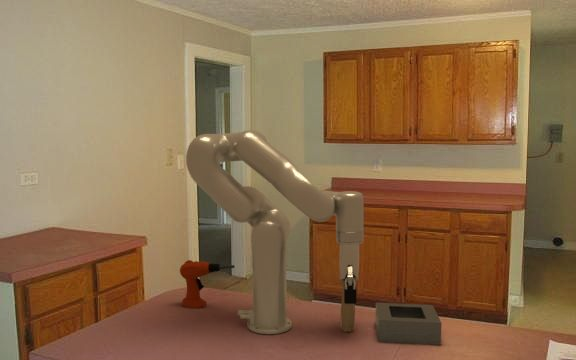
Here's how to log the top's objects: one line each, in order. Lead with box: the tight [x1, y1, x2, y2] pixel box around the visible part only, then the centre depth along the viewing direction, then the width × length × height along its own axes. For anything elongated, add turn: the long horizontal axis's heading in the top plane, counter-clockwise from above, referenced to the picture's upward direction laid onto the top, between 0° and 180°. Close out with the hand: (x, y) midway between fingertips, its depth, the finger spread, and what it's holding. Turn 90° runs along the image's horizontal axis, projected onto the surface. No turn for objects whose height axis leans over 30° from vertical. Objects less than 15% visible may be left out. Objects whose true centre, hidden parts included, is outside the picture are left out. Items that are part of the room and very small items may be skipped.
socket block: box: [374, 302, 442, 346], centre depth 139 cm, size 16×14×6 cm
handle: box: [339, 275, 358, 333], centre depth 141 cm, size 5×6×15 cm
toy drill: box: [179, 259, 235, 309], centre depth 160 cm, size 5×19×15 cm, turn 78°
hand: (350, 297), depth 140 cm, fingers open, 9 cm apart
